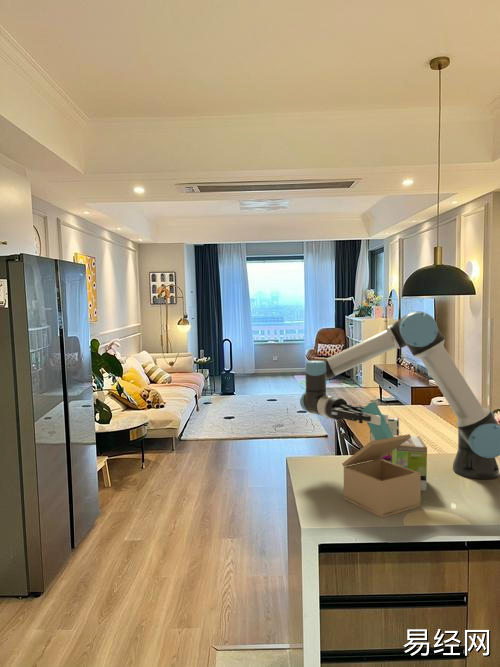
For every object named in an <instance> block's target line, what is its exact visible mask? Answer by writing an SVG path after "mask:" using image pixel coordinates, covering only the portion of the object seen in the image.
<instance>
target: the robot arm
mask: <svg viewBox="0 0 500 667" xmlns="http://www.w3.org/2000/svg"><path fill="white" fill-rule="evenodd" d="M444 344H445V338H444V336H443V334H442V332H441V331H440V330H439V327H438V324H437V321H436V320H435V318H434V317H433V316H432V315H430V314H428V312H424V311H416V310H415V311H412V312H409V313H408V314H405V315H404V316H402V317H401V318H400V319H398V320H396V321H395V322H394V323H392V324H389V325H387V327H386V330H383V331H381V332H380V333H379V332H378V333H377V334H375V335H372V336H371V337H369V338H366V339H365V340H362V341H360V342H359V343H356V344H355V345H354V344H353V345H352V346H350V347H348V348H346V349H343V350H342V351H340V352H338V353H335V354H334V355H331V356H329V357H328V358H326V359H323V360H308V361H306V362H305V370H304V371H305V392H304V393H302V395H301V397H300V398H299V399H300V400H299V403H300V407H301V409H302V410H303V411H305V412H308V413H310V414H313V415H319V416H322V417H326V419H333V420H336V421H341V420H347V421H352V422H357V421H358V424H363V423H364V422H365V423H367V422H368V423H372V424H376V425H381V416H378V415H374V414H370V413H366V412H365V413H362V412H361V410H362V409H364V408H365V407H366V406H363V405H361V404H359V405H358V406H355V405H352V404H348V403H347V402H348V401H346V400H345V399H344V398H342V397H335V396H334V395H333V396H331V395H327V381H329V379H332V378H334V377H336V376H338V375H340V374H342V373H345V372H347V371H348V370H351V369H353V368H356V367H357V366H359V365H362V364H364V363H366V362H368V361H370V360H372V359H375V358H376V357H379V356H381V355H383V354H385V353H387V352H389V351H392V350H394V349H399V350H401V349H402V348H405V347H407V348H408V349H409V351H410V353H411V354H412V356H413V357H415V358H419V359H420V360H421V362H422V363H423V365H424V367H425V368H426V370H427V371H428V373H429V374H430V376H431V378H432V379H433V381H434V383H435V384H436V386H437V387H438V389H439V390H440V392H441V394H442V396H443V397H444V398H445V400H446V402H447V403H448V405H449V407H450V409H451V410H452V412H453V413H454V414H455V416H456V418H457V421H456V427H457V434H458V435H457V446H458V447H457V452H456V453H455V454H456V455H455V457H454V459H453V460H454V461H453V463H452V471H453V472H454V473H455V474H457V475H459V476H464V477H466V478H471V479H478V480H493V479H497V478H498V477H499V476H500V468H499V464H498V462H497V460H496V458H497V457H499V456H500V423H499V422H498V421H497V419H496V418H495V414H494V412H493V411H492V410H490V409H489V408H487V407H483V406H482V405H481V403H480V402H479V399H478V398H477V397H476V395H475V394H474V392H473V391H472V390H473V389H471V387H470V386H469V383H468V382H467V381H466V379H465V378H464V376H463V375H462V372H460V370H459V368H458V366H457V365H456V363H455V361H454V360H453V359H452V357H451V356H450V353H449V352H448V351H447V350H446V348H445V346H444ZM363 414H364V415H363ZM381 414H382V416H383V417H384V419H385V421H386V423H387V424H388V417H389V414H386V413H382V412H381Z"/></svg>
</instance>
